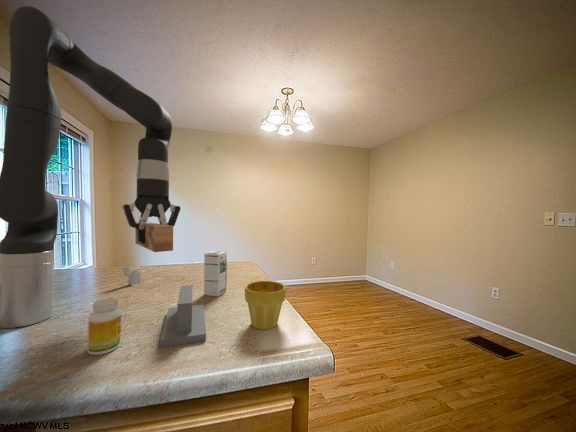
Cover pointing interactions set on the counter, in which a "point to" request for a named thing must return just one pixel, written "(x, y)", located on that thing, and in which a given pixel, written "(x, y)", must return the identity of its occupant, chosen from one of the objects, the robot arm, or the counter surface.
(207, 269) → the syrup box
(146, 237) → the wooden beam
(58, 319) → the counter surface
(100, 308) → the supplement bottle
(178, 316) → the ridge stand
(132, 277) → the lighter
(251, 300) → the plant pot
